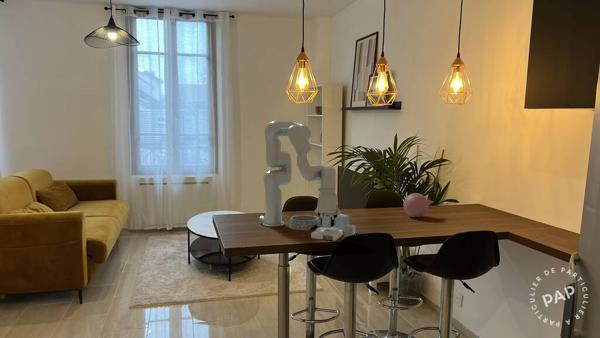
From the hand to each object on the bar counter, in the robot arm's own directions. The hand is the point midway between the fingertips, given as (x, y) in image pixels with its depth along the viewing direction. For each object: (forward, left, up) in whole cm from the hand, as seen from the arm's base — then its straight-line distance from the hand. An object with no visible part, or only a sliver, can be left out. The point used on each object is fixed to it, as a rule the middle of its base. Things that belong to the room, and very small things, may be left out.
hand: (327, 225), depth 220 cm
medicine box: (+3, +15, -6) cm, 16 cm away
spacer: (+11, +4, -6) cm, 13 cm away
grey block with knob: (0, 0, -1) cm, 1 cm away
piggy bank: (+38, +69, -6) cm, 79 cm away
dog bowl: (-19, +16, -6) cm, 25 cm away
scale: (0, 0, -6) cm, 6 cm away
